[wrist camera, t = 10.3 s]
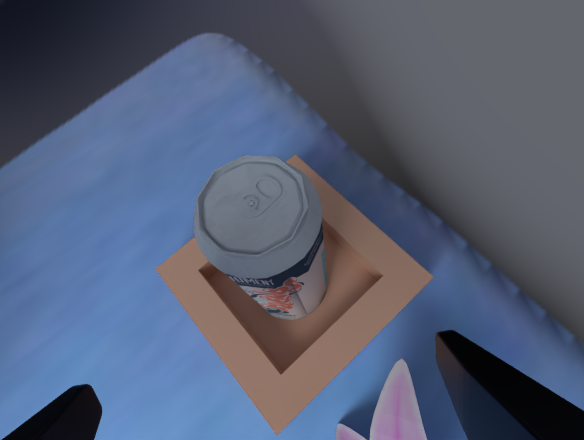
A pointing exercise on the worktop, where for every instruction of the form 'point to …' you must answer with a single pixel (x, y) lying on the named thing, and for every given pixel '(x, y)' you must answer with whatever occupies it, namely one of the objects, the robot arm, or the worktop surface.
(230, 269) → the beer can
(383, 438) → the lily
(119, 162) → the worktop surface
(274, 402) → the holder
